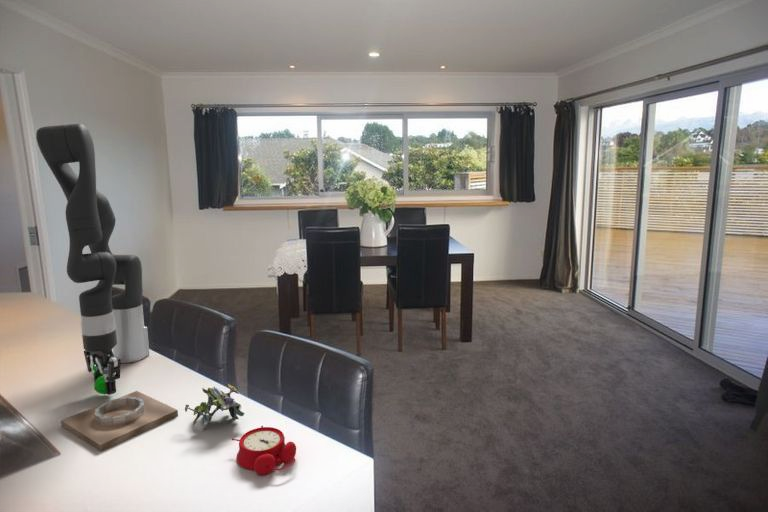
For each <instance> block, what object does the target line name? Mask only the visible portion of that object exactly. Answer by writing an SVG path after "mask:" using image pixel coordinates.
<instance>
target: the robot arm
mask: <svg viewBox="0 0 768 512" xmlns="http://www.w3.org/2000/svg"><path fill="white" fill-rule="evenodd" d="M35 136H36V137H35V138H36V143H37V145H38V149H39V151H40V153H41V155H42V157H43V159H44V161H45V162H46V164H47V166H48V168H50V169H49V170H51V173H52V174H53V176H54V177H55V179H56V181H57V183H58V184H59V186H60V188H61V191H62V192H63V194H64V197H65V198H66V201H67V204H66V207H65V222H66V225H67V232H68V236H69V237H68V238H69V248H68V249H69V250H68V258H67V261H66V262H67V264H66V275H67V276H68V279H70V281H72V282H73V283H77V284H82V283H89V282H90V283H91V282H95V281H98V283H97V284H96V285H95V286H93V287H92V288H89V289H87V290H83V291H82V292H81V293H80V294H79V295H78V300H79V308H80V309H79V312H80V329H81V338H82V346H83V354H84V359H85V364H86V368H87V372H88V373H91V375H92V377H93V382H94V383H93V384H94V385H95V380H96V379H97V378H98V377H100V376H102V375H103V376H104V379H105V387H106V394H105V395H106V396H107V395H108V396H110V395H113V394H115V393H117V387H116V386H117V385H116V384H117V383H116V384H115V380H119V379H120V378H121V364H128V363H129V364H130V363H134V362H139V361H141V360H143V359H144V358H146V357H148V356H150V347H149V346H150V344H149V334H148V333H149V332H148V327H147V326H145V321H144V320H145V319H144V318H145V317H144V309H143V293H144V292H143V291H144V290H143V267H142V262H141V259H140V258H139V256H137V255H135V254H113V252H112V251H111V249H110V246H109V245H110V244H109V241H110V238H111V237H112V234H113V232H114V228H115V226H116V217H115V213H114V210H113V208H112V206H111V203H110V202H109V199H108V198H107V196H105V194H103V193H102V192H101V191H100V190H98V189H97V173H96V171H97V170H96V157H95V156H96V154H95V153H96V152H95V145H94V142H93V141H94V140H93V137H92V135H91V132H90V131H89V130H88V128H87V127H86V126H85V125H84V124H83V123H71V124H70V123H69V124H61V125H59V124H58V125H47V126H43V127H39V128H38V129H37V130H36V133H35ZM70 163H71V164H72V163H79V164H78V165H79V170H78V171H79V172H78V174H77V173H76V172H75V171H74V169H73V168H72V167H71V166H70ZM87 246H88V248H89V252H90V253H83V250H84V248H85V247H87ZM114 285H115V286H117V285H119V286H123V285H124V291H123V292H121V293H118V294H114V295H112V293H113V292H112V291H113V286H114ZM106 368H107V369H106Z"/></svg>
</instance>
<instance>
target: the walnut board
mask: <svg viewBox="0 0 768 512" xmlns="http://www.w3.org/2000/svg"><path fill="white" fill-rule="evenodd" d="M124 397H138V398H140V399H142V400H144V414H142V415H141V416H140V417H139V418H138V419H136V420H134V421H131V422H129V423H127V424H122V425H117V426H101V425H99V424H97V423H95V415H94V414H95V409H96V408H98V407H99V406H100V405H102V404H103V403H102V404H99V405H96V406H94V407H91V408H88V409H86V410H84V411H80V412H78V413H76V414H73V415H70V416H68V417H65V418H63V419H60V424H61V427H62V428H64V429H66V430H67V431H69V433H72V434H73V435H75V436H76V437H78V438H80V439H81V440H83V441H84V442H86V443H88V444H89V445H90V446H92V447H93V448H95V449H96V450H98V451H99V452H103V451H105V450H106V449H109V448H111V447H114V446H116V445H117V444H120V443H121V442H124V441H126V440H129V439H131V438H133V437H134V436H137V435H140V434H141V433H144V432H146V431H147V430H150V429H152V428H154V427H157V426H159V425H160V424H163V423H165V422H168V421H170V420H172V419H174V418H176V417H178V416H179V412H178V411H179V410H178V409H176V408H174V407H173V406H170V405H168V404H166V403H164V402H161V401H160V400H157V399H155V398H153V397H150V396H149V395H146V394H144V393H142V392H140V391H139V390H135V391H132V392H130V393H128V394H125V395H122V396H120V397H117V398H116V399H118V398H124ZM136 408H137V407H136V406H124V407H119V408H115V409H112V410H110V411H107V412H106V413H104V414H103V416H118V415H123V414H126V413H129V412H131V411H134V410H135V409H136Z"/></svg>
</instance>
